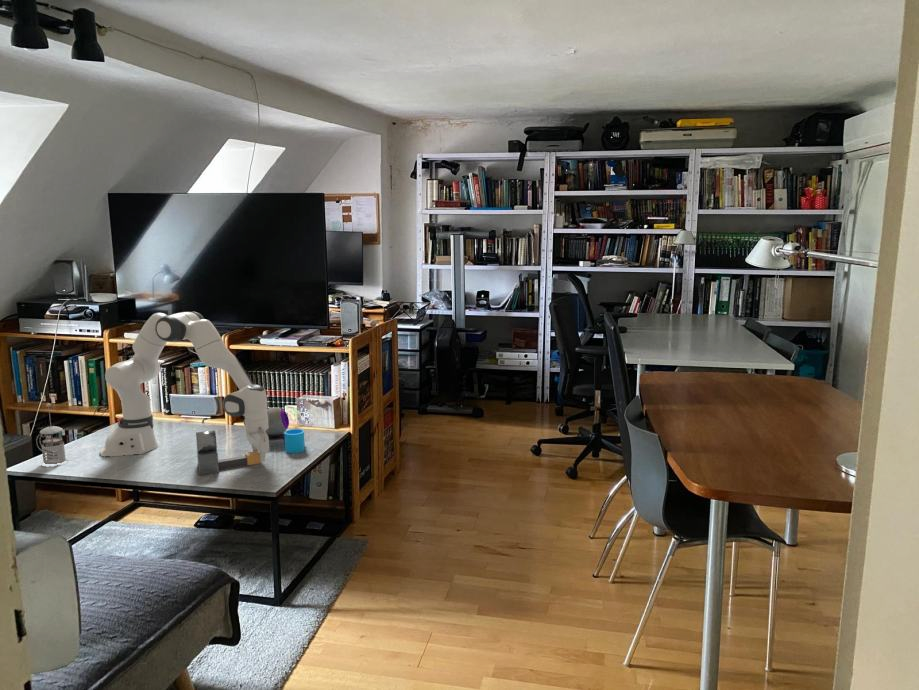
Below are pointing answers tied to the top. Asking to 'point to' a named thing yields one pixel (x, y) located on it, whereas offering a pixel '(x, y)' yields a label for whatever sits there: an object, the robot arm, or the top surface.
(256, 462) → the plug
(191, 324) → the robot arm
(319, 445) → the top surface
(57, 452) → the french press
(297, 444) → the mug
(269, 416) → the webcam
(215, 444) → the block
